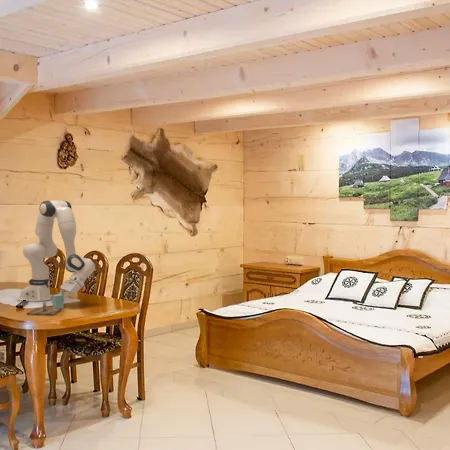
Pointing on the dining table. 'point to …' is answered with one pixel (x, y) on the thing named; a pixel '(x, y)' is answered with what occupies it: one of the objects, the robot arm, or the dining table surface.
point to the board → (44, 311)
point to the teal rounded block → (57, 301)
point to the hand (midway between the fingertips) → (61, 297)
